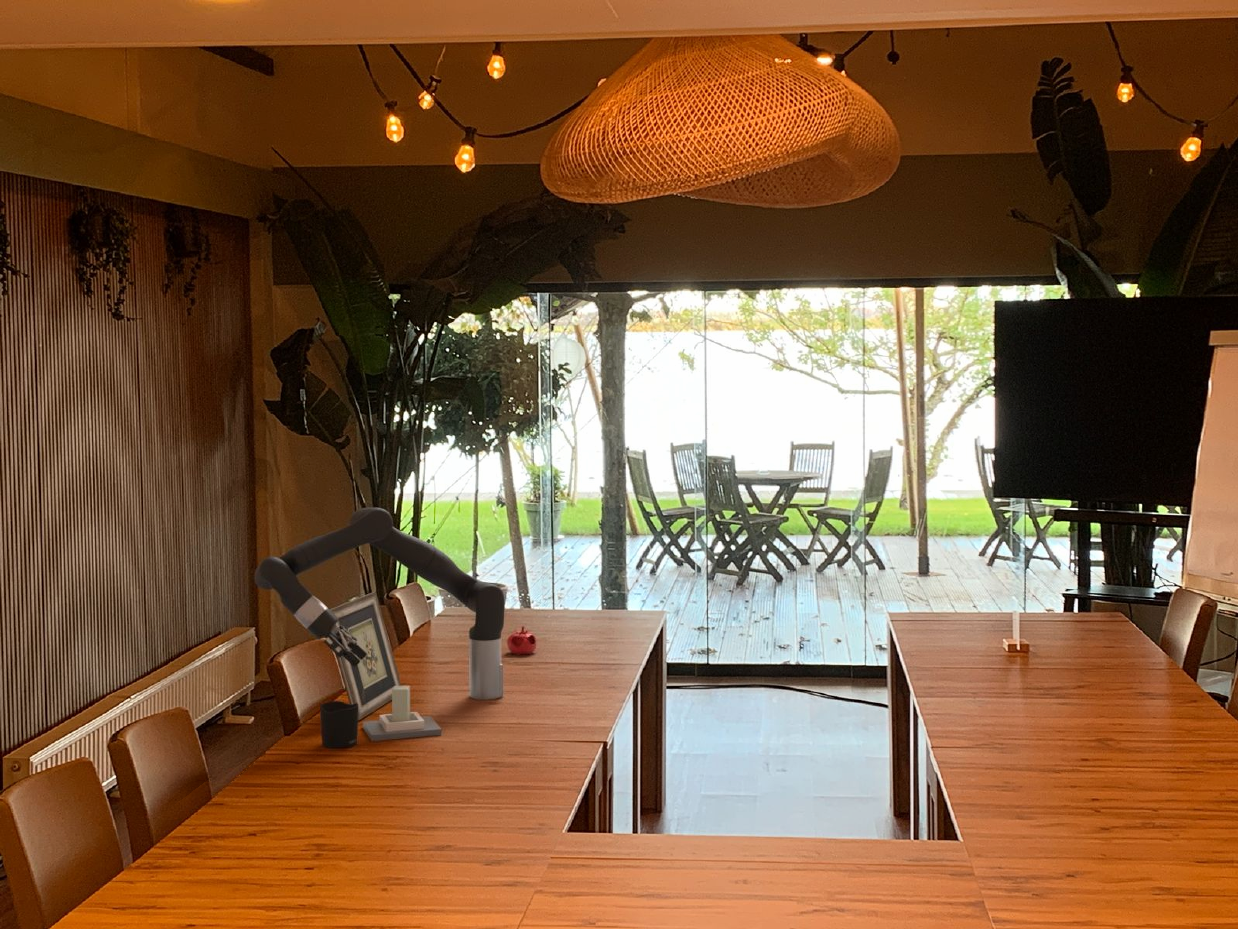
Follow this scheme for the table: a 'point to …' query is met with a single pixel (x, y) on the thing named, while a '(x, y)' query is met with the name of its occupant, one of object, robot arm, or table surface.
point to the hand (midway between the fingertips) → (361, 660)
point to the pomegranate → (521, 642)
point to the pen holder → (339, 724)
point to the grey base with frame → (401, 727)
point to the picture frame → (378, 667)
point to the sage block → (400, 703)
